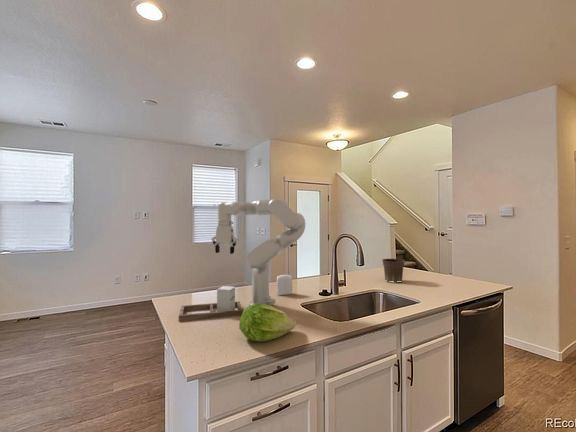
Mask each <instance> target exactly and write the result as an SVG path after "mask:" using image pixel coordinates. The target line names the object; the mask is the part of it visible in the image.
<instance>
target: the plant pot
mask: <svg viewBox="0 0 576 432" xmlns="http://www.w3.org/2000/svg"><path fill="white" fill-rule="evenodd" d="M381 261H382V265H383V270H384V281H385V280H387V281H394V282H397V281H402V282H403V277H404V276H403V275H404V267H405V259H402V258H401V259H399V258H383V259H381Z"/></svg>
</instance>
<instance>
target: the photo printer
mask: <svg viewBox="0 0 576 432" xmlns="http://www.w3.org/2000/svg"><path fill="white" fill-rule="evenodd" d="M292 294H293V276H292V275H290V274H281V275H277V276H276V295H277V296H284V295H292Z"/></svg>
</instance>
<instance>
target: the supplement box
mask: <svg viewBox="0 0 576 432" xmlns="http://www.w3.org/2000/svg"><path fill="white" fill-rule="evenodd" d="M235 302H236V286H231V285H229V286H228V285H226V286H225V285H223V286H221V287H218V288H216V303H217V309H216V312H221V311H233V310H236V307H235Z"/></svg>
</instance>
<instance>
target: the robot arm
mask: <svg viewBox="0 0 576 432" xmlns="http://www.w3.org/2000/svg"><path fill="white" fill-rule="evenodd" d="M246 215H247V216H248V215H249V216H251V215H254V216H255V215H257V216H271V215H272V216H273V217H275V218H276V219H277V220H278V221H279V222H280V223H281V224H283V226H284V227H286V229H285V230H283V231H282V232H281V233H279V234H278V235H277V236H274V237H273V238H270V239H267V240H265V241H263V242H262V243H261V244H259V245H258V246H256V247H255V248H254V249H252V250H251V251H250V252H249V253H247V255H246V257H245V258H246V259H245V260H246V261H245V262H246V264H247V266H248V267H250V268H251V269H252V271H251V301H250V302H249V303H248V305H249V306H251V305H253V304H257V303H259V304H265V305H269V306H272V304H273V305H275V304H276V299H275V298H271V297H272V296H270V266H271V260H272V259H273V258H275V257H277V256H279V255H281V254H282V253H283V251H285V250H286V249H288V248H289V247H290V246H291V245H293V244H294V243H295V242H297V241H298V240H299V239H300V238H301V237H302V235H303V234H304V232H305V230H306V220H305V217H304V216H303V215H302V213H299V212H294V211H293V210H292V209H291V208H290V207H289V205H288V203H287V201H286V200H284V199H282V198H273V199H258V200H257V201H248V202H243V201H242V202H241V201H233V202H226V201H225V202H222V201H221V202H219V203H218V204H217V226H216V231H215V235H214V236H213V237H212V238H211V241H212V244H213V245H214V248H215V249H214V251H215V254H218V253H220V250H221V249H220V244H228V245H230V247H229V253H230V255H233V254H234V253H235V247H236V246H237V244H238V241H239V238H237V237H235V232H234V231H235V229H234V227H233V225H234V222H233V221H232V216H246Z"/></svg>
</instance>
